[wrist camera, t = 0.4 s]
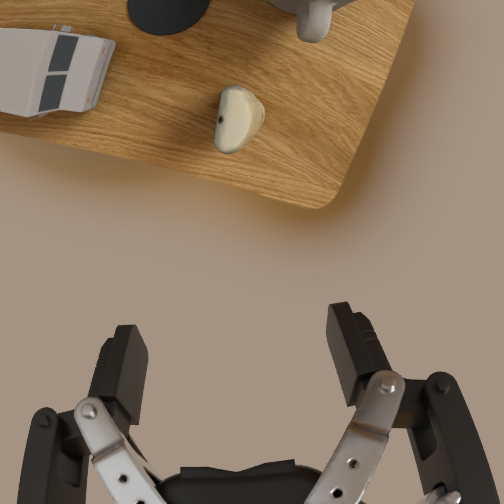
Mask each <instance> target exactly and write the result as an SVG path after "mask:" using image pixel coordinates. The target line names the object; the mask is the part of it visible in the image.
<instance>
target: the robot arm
mask: <svg viewBox="0 0 504 504" xmlns="http://www.w3.org/2000/svg"><path fill="white" fill-rule="evenodd" d="M326 337H327V342H328V345H329V348H330V352H331V355H332V358H333V361H334V364H335V367H336V370H337V374H338V377H339V381H340V384H341V387H342V390H343V393H344V397H345V400H346V404H347V406H348V407H349V406H354V405H355V406H356V412H355V414H354V416H353V418H352V420H351V422H350V423H349V425H348V427H347V428H346V430H345V432H344V435H343V436H342V438H341V440H340V442H339V444H338V446H337V448H336V449H335V451H334V453H333V455H332V457H331V459H330V460H329V462H328V464H327V466H326V467H325V469H324V471H323V472H321V471H319V470H317V469H314V468H311V467H308V466H303V465H295V461H294V459H291V460H284V461H277V462H268V463H264V464H261V465H258V466H255V467H252V468H249V469H246V470H242V471H239V472H233V471H227V470H221V469H216V468H211V467H181V468H180V471H181V472H180V473H179V474H175V475H173V476H170V477H168V478H166V479H165V480H164V479H163V478H162V476H161V475H160V474H159V473H158V472H157V471H156V470H155V468H154V467H153V466H152V465H151V464H150V462H149V461H148V459H147V458H146V457H145V455H144V454H143V452H142V451H141V449H140V448H139V446H138V445H137V444H136V442H135V440H134V439H133V437H132V436H131V434H130V433H129V427H130V425H139V418H140V410H141V403H142V397H143V390H144V383H145V377H146V371H147V365H148V351H147V347H146V345H145V343H144V341H143V339H142V337H141V335H140V333H139V330H138V329H137V326H136V325H119V326H117V328H116V331H115V334H114V338H108V339H107V340H106V342H105V343H104V345H103V346H102V347H101V351H100V354H99V359H98V361H97V364H96V366H97V367H96V368H95V371H94V375H93V378H92V382H91V386H90V390H89V394H88V397H87V398H85V399H83V400H81V401H80V402H79V403H78V404H77V406H76V408H75V409H74V410H71V411H66V412H62V413H58V414H57V413H56V412H55V411H54V410H53V409H51V408H48V407H45V408H42V409H40V410H38V411H37V412H36V413H35V414H34V416H33V418H32V421H31V426H30V430H29V434H28V439H27V443H26V449H25V453H24V459H23V465H22V470H21V476H20V483H19V490H18V498H17V504H85V502H86V487H87V486H86V485H87V475H88V463H89V455H91V454H92V455H93V458H92V459H91V461H92V464H93V466H94V468H95V470H96V472H97V473H98V475H99V477H100V479H101V480H102V482H103V484H104V486H105V487H106V489H107V491H108V492H109V494H110V496H111V497H112V499H113V500H114V502H115V504H366V503H364V502H363V501H361V498H362V496H363V494H364V492H365V490H366V488H367V486H368V484H369V482H370V480H371V478H372V476H373V474H374V472H375V469H376V467H377V465H378V463H379V460H380V459H381V456H382V454H383V452H384V449H385V447H386V444H387V442H388V438H389V436H388V435H389V432H390V430H391V428H406V429H407V432H408V435H409V439H410V442H411V446H412V449H413V453H414V457H415V460H416V464H417V468H418V472H419V476H420V480H421V483H422V488H423V492H424V496H423V497H422V498H421V499H420V500H419V501H418V502H417V503H416V504H500V501H499V497H498V494H497V490H496V487H495V483H494V480H493V476H492V473H491V470H490V467H489V464H488V461H487V458H486V455H485V452H484V449H483V446H482V443H481V440H480V438H479V435H478V432H477V430H476V427H475V424H474V422H473V419H472V417H471V414H470V412H469V409H468V407H467V405H466V402H465V400H464V397H463V395H462V393H461V391H460V389H459V386H458V384H457V381H456V380H455V379H454V377H453V376H452V375H450V374H448V373H446V372H435V373H433V374H431V375H430V376H429V377H428V379H427V380H411V379H405V378H402V377H401V375H399V374H398V373H397V372H394V371H393V370H392V369H391V366H390V364H389V362H388V360H387V357H386V355H385V353H384V351H383V349H382V346H381V345H380V342H379V340H378V339H377V335H376V333H375V332H374V329H373V327H372V324H371V322H370V320H369V319H368V318H367V317H366V316H365V315H363V314H362V313H361V312H357V313H353V312H352V310H351V308H350V305H349V304H348V302H340V303H334V304H329V307H328V316H327V326H326Z"/></svg>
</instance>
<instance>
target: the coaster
mask: <svg viewBox="0 0 504 504" xmlns="http://www.w3.org/2000/svg"><path fill="white" fill-rule="evenodd" d="M208 4H209V0H128V11H129V15H130V17H131V19H132V21H133V22H134V23H135V24H136V25H137V26H138V27H139V28H140V29H142V30H144V31H146V32H148V33H152V34H157V35H168V34H174V33H178V32H181V31H183V30H185V29H187V28H189V27H191V26H192V25H193V24H195V23H196V22H197V21H198V20H199V19H200V18H201V17H202V16H203V14H204V13H205V11H206V9H207V7H208Z"/></svg>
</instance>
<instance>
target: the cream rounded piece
mask: <svg viewBox="0 0 504 504" xmlns="http://www.w3.org/2000/svg"><path fill="white" fill-rule="evenodd" d="M264 119H265V111H264V107H263V105H262V103H261V102H260V101H258V100H257V98H256V97H255V96H254V94H253V93H252V92H251V91H249V90H247V89H244V88H242V87H240V86H228V87H227V88H225V89H224V90H223V91H222V92H221V94H220V102H219V109H218V115H217V121H216V128H215V133H214V145H215V146H216V148H217V149H218V150H219V151H220V152H222V153H225V154H232V153H235V152H237V151H238V150H239V149H240V148H241V147H243V146H244V145H246V144H247V143H248V142H249V141H250V140H251V139H252V138H253V137H254V136H255V135H256V133H257V132H258V131H259V129H260V127H261V125H262V123H263V121H264Z"/></svg>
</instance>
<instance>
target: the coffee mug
mask: <svg viewBox="0 0 504 504" xmlns="http://www.w3.org/2000/svg"><path fill="white" fill-rule="evenodd" d="M268 1H269V2H270V3H271V4H273V5H274V6H275V7H277V8H279V9H281V10H283V11H285V12H287V13H290V14H294V15H297V35H298V38H299V39H300V40H302V41H304V42H309V43H317V42H320V41H321V40H323V39H324V38H325V36H326V34H327V32H328V30H329V26H330V22H331V16H332V11H334V10H336V9H338V8H340V7H343V6H345V5H347V4H349V3H351V2H354V1H356V0H268Z"/></svg>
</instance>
